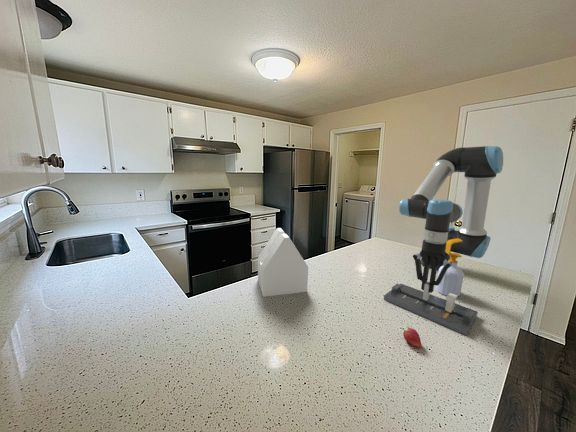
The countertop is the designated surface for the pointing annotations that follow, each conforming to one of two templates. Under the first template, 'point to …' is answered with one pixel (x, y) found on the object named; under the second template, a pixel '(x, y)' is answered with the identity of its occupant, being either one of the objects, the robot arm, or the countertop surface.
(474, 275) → the countertop surface
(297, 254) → the white toy house
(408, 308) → the console
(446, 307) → the fader
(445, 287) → the soap bottle
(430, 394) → the countertop surface
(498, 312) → the countertop surface
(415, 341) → the fruit
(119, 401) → the countertop surface
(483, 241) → the robot arm
